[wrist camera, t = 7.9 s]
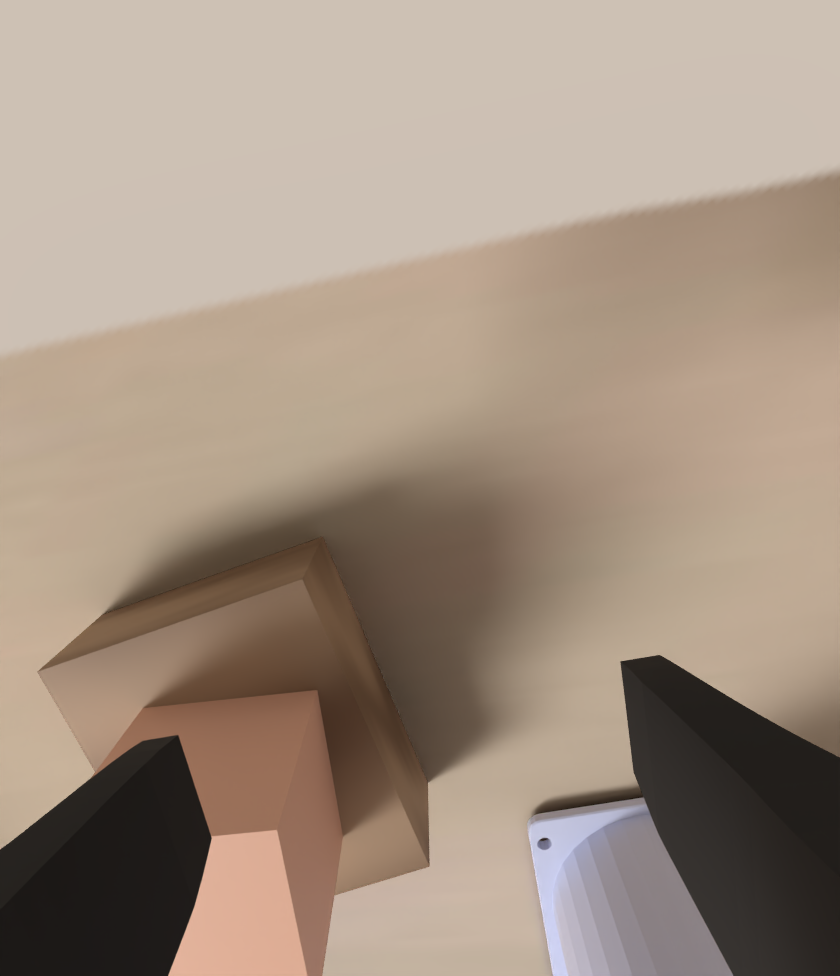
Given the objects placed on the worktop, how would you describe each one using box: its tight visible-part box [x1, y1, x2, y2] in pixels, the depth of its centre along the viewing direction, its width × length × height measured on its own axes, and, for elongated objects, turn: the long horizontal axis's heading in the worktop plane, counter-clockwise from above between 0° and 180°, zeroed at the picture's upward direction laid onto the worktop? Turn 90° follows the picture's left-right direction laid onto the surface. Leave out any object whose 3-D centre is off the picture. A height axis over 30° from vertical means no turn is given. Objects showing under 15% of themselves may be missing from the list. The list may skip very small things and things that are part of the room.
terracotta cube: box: [91, 690, 343, 976], centre depth 15 cm, size 5×5×5 cm
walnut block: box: [38, 537, 429, 895], centre depth 20 cm, size 10×8×4 cm
